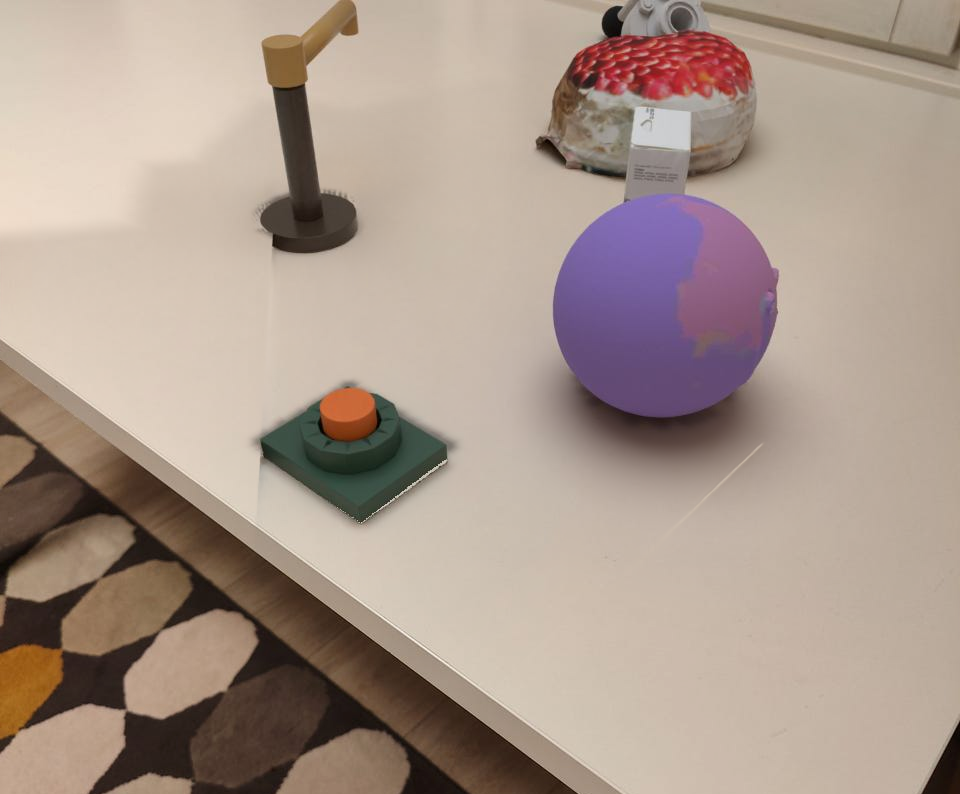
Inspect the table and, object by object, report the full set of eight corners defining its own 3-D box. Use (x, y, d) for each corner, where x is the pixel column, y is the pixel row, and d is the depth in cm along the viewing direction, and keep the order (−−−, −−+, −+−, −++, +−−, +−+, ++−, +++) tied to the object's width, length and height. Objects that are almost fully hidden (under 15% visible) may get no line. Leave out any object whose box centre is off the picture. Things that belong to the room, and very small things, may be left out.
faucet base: (260, 256, 86) (231, 107, 77) (264, 211, 93) (237, 69, 83) (359, 248, 87) (342, 100, 78) (356, 203, 93) (340, 62, 84)
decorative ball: (752, 476, 63) (799, 279, 53) (531, 444, 66) (536, 251, 56) (758, 350, 74) (799, 165, 64) (568, 327, 77) (578, 147, 66)
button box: (263, 457, 65) (254, 418, 63) (350, 403, 70) (344, 365, 67) (361, 525, 60) (355, 485, 58) (447, 463, 65) (445, 423, 62)
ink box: (673, 281, 81) (691, 148, 73) (615, 277, 82) (627, 145, 74) (675, 234, 88) (692, 106, 80) (621, 230, 88) (633, 103, 80)
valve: (657, 124, 130) (645, 14, 129) (727, 63, 110) (712, -67, 110) (587, 127, 127) (573, 15, 127) (645, 66, 108) (630, -67, 108)
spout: (301, 103, 80) (294, 49, 77) (264, 100, 80) (254, 46, 77) (368, 31, 93) (364, -18, 90) (336, 29, 94) (330, -20, 91)
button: (311, 426, 63) (308, 405, 62) (352, 401, 65) (349, 380, 64) (348, 449, 61) (345, 428, 60) (388, 423, 63) (386, 402, 62)
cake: (652, 79, 116) (662, -9, 110) (794, 149, 101) (815, 52, 94) (491, 119, 108) (491, 26, 101) (618, 203, 92) (628, 100, 86)
